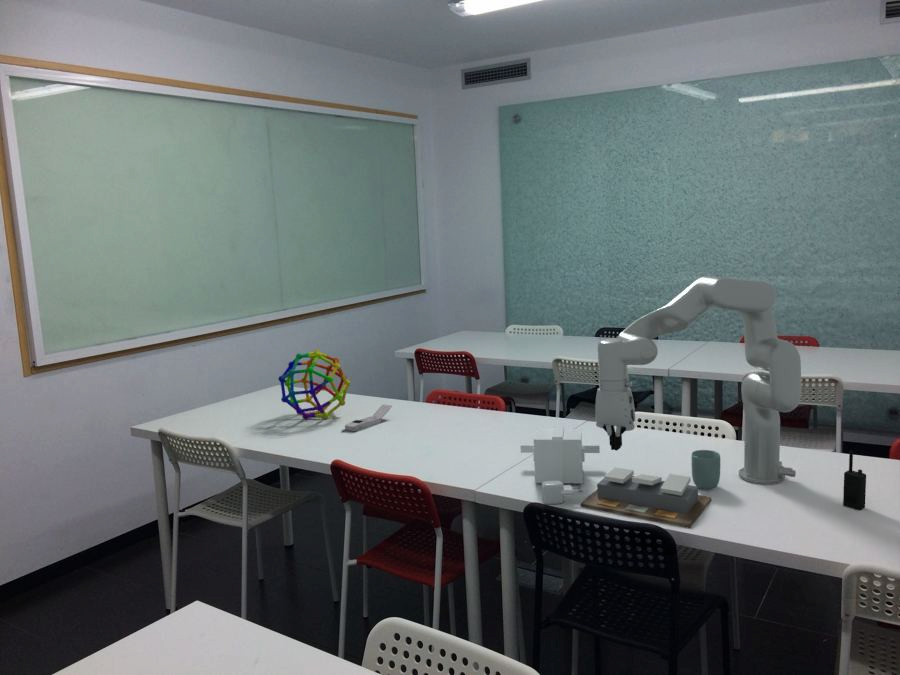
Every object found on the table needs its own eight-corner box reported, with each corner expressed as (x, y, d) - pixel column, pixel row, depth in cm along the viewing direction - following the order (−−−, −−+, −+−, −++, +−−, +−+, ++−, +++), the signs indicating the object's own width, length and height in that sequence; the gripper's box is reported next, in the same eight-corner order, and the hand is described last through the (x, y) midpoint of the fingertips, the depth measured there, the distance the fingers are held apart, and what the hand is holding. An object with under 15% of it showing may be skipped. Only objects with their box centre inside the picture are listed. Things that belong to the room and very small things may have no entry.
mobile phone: (393, 405, 298) (349, 419, 279) (394, 419, 298) (350, 434, 280) (383, 403, 301) (339, 418, 282) (384, 417, 302) (340, 432, 283)
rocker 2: (661, 481, 198) (661, 477, 198) (651, 485, 192) (652, 480, 192) (642, 478, 202) (642, 474, 202) (631, 481, 195) (632, 477, 195)
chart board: (711, 500, 196) (711, 496, 196) (690, 528, 180) (689, 523, 180) (608, 482, 213) (608, 478, 213) (580, 506, 197) (580, 502, 197)
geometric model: (369, 357, 309) (312, 336, 320) (330, 369, 282) (270, 345, 293) (355, 421, 316) (300, 398, 327) (316, 438, 289) (258, 413, 300)
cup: (688, 482, 210) (688, 450, 209) (716, 482, 209) (716, 449, 208) (695, 492, 203) (695, 458, 201) (723, 492, 202) (723, 458, 200)
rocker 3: (690, 480, 194) (690, 477, 193) (681, 495, 187) (681, 491, 187) (670, 477, 197) (669, 473, 196) (660, 492, 191) (660, 488, 190)
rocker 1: (633, 474, 203) (633, 470, 203) (623, 483, 196) (623, 479, 196) (615, 471, 206) (615, 467, 206) (604, 480, 200) (604, 476, 199)
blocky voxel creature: (599, 461, 237) (601, 486, 210) (524, 461, 242) (516, 485, 215) (598, 418, 236) (599, 437, 209) (523, 418, 241) (515, 437, 213)
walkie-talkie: (866, 507, 186) (868, 452, 184) (859, 511, 184) (861, 455, 182) (847, 502, 190) (848, 448, 188) (840, 505, 188) (842, 451, 186)
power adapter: (580, 497, 204) (580, 477, 203) (583, 504, 199) (583, 484, 198) (541, 499, 204) (541, 479, 203) (543, 506, 199) (543, 486, 198)
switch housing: (698, 500, 194) (698, 484, 194) (687, 513, 186) (687, 496, 186) (611, 485, 209) (610, 470, 208) (597, 497, 201) (597, 481, 200)
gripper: (644, 383, 193) (647, 447, 196) (593, 379, 202) (596, 441, 205) (634, 389, 187) (637, 456, 190) (582, 385, 196) (585, 449, 199)
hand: (616, 448), depth 197 cm, fingers closed
